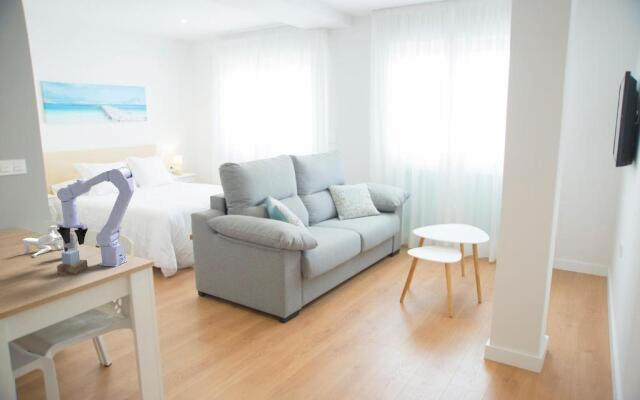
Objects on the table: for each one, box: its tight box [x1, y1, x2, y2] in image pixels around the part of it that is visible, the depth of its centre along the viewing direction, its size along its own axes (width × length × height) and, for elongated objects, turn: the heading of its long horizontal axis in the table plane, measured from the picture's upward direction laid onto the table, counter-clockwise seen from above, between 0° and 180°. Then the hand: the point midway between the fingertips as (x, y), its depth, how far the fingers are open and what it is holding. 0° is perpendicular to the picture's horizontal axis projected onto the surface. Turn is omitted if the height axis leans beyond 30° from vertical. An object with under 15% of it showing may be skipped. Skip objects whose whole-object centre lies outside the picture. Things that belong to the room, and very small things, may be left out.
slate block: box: [60, 250, 81, 265], centre depth 182 cm, size 4×4×5 cm
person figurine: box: [21, 225, 64, 258], centre depth 211 cm, size 13×13×18 cm
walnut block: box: [56, 259, 89, 276], centre depth 183 cm, size 8×8×4 cm
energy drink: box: [62, 230, 79, 252], centre depth 202 cm, size 5×5×12 cm
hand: (74, 243), depth 190 cm, fingers open, 7 cm apart
